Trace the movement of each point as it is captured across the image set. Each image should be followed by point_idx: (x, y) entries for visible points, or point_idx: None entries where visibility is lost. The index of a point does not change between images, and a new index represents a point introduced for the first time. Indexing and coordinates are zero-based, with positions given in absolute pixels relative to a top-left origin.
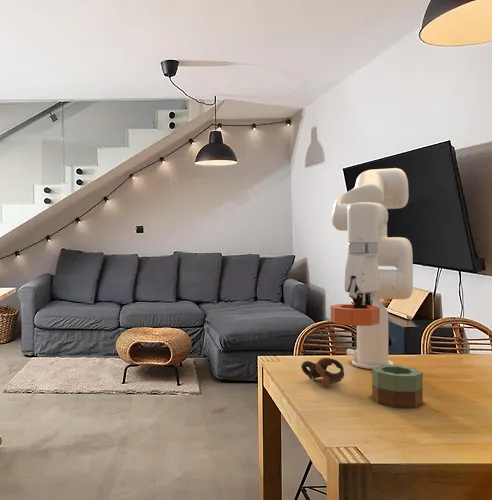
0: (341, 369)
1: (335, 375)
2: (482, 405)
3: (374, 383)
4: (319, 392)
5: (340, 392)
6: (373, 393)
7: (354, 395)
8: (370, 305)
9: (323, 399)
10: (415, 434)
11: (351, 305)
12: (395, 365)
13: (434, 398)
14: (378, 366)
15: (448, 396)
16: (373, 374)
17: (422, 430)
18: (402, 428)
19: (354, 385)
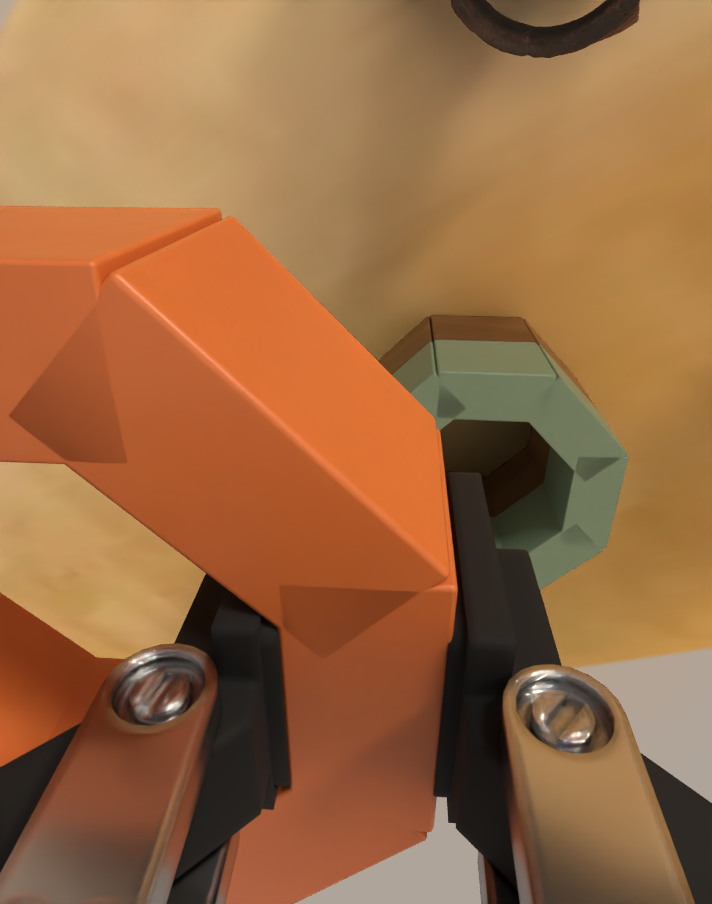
0: (574, 32)
1: (477, 34)
2: (627, 651)
3: (399, 370)
4: (309, 15)
5: (407, 125)
6: (412, 338)
7: (407, 222)
8: (387, 815)
9: (205, 128)
10: (137, 588)
11: (199, 561)
12: (607, 450)
13: (618, 514)
14: (507, 384)
15: (690, 544)
16: (412, 376)
17: (190, 591)
18: (152, 546)
19: (625, 105)
